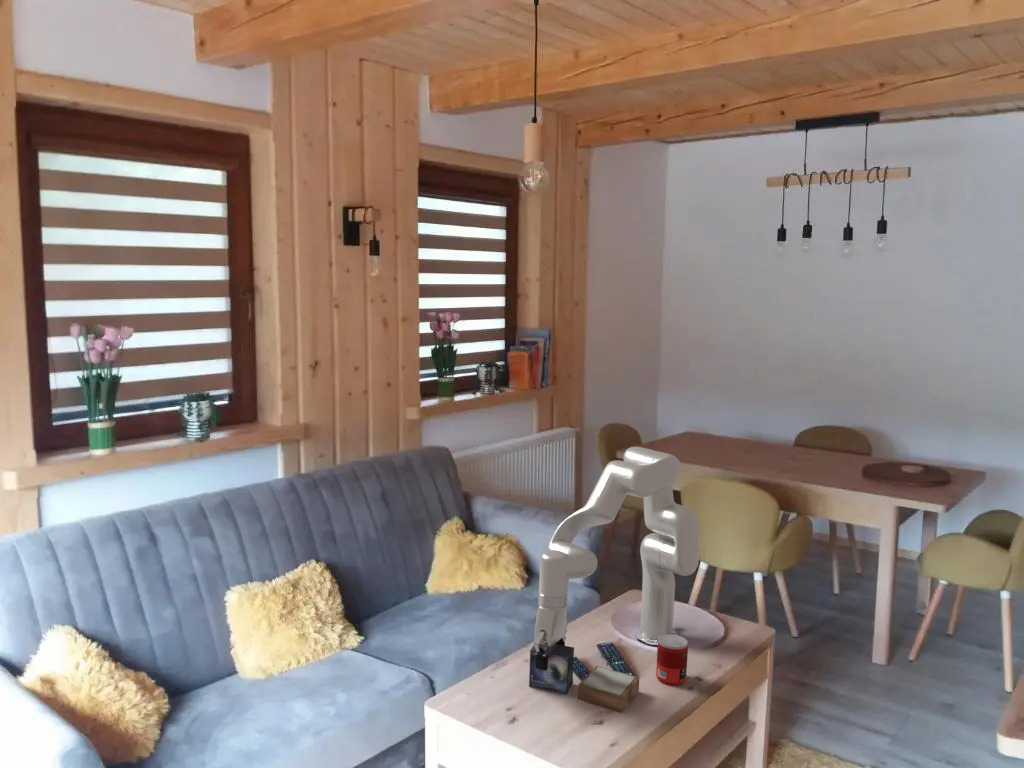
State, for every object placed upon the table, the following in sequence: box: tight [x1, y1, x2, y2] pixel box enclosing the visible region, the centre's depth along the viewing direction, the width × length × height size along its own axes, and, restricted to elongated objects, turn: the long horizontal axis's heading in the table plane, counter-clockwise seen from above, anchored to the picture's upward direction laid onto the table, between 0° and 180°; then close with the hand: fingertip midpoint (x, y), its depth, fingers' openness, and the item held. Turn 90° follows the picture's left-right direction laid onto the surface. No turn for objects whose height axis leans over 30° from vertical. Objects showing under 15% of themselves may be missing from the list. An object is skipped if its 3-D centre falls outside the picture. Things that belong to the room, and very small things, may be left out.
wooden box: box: [576, 665, 640, 714], centre depth 216 cm, size 12×12×4 cm
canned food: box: [655, 634, 689, 687], centre depth 225 cm, size 8×8×11 cm
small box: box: [528, 641, 575, 695], centre depth 221 cm, size 11×6×10 cm, turn 70°
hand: (550, 661), depth 220 cm, fingers open, 9 cm apart
